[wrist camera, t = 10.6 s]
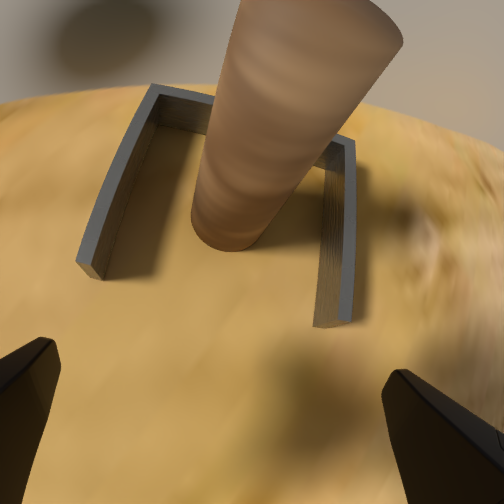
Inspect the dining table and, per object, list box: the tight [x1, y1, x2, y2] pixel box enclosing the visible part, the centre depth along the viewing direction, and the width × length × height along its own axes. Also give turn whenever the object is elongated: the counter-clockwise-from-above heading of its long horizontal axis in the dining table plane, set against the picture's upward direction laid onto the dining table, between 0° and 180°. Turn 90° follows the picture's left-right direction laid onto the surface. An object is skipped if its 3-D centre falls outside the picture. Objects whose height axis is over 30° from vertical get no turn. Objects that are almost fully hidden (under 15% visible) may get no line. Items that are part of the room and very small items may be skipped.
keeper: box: [76, 83, 356, 328], centre depth 17 cm, size 12×14×6 cm
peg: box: [191, 0, 403, 252], centre depth 13 cm, size 4×4×14 cm
